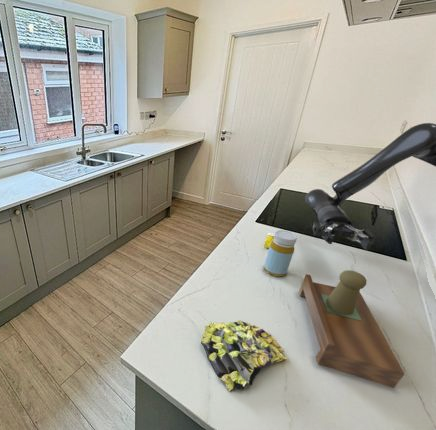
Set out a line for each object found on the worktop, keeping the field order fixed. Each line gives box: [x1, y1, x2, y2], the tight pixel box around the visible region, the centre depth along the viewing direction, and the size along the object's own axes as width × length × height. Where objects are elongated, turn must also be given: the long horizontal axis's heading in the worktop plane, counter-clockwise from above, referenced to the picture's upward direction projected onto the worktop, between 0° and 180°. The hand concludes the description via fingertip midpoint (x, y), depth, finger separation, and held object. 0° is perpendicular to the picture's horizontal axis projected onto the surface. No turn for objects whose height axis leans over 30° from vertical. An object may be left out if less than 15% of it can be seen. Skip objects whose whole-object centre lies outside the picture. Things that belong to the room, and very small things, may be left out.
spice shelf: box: [298, 273, 406, 388], centre depth 69 cm, size 14×26×7 cm, turn 156°
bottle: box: [263, 229, 298, 277], centre depth 90 cm, size 7×7×15 cm
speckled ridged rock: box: [200, 320, 288, 392], centre depth 64 cm, size 20×16×6 cm
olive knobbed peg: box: [326, 269, 368, 315], centre depth 69 cm, size 6×6×11 cm
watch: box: [263, 232, 275, 249], centre depth 105 cm, size 6×3×6 cm, turn 130°
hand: (349, 244), depth 75 cm, fingers open, 8 cm apart
